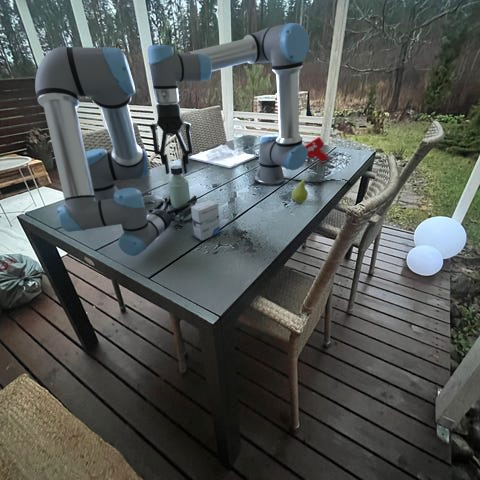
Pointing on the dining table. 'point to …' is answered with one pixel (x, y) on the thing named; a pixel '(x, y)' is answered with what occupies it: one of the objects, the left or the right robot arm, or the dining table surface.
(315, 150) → the toy gun
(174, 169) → the cap
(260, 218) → the dining table surface
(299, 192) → the fruit
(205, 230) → the ink box
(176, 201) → the bottle
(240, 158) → the relief map
